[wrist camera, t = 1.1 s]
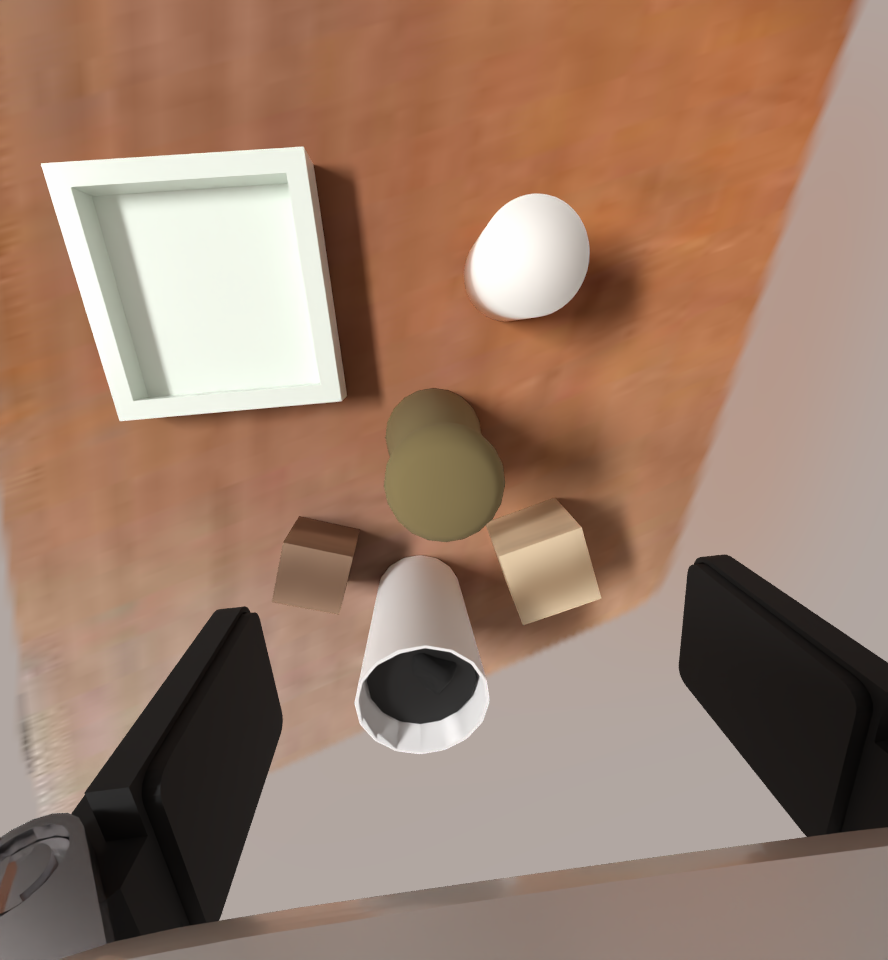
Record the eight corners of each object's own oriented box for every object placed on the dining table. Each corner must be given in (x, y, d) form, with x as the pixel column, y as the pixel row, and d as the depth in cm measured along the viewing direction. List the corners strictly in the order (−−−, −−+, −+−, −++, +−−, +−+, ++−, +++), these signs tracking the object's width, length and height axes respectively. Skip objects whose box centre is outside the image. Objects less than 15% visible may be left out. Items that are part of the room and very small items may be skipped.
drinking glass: (394, 535, 30) (387, 626, 21) (482, 569, 31) (513, 671, 22) (356, 614, 32) (333, 732, 22) (441, 644, 33) (454, 768, 24)
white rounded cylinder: (460, 229, 25) (476, 197, 19) (549, 222, 25) (590, 189, 19) (466, 324, 26) (482, 321, 21) (550, 317, 27) (588, 312, 21)
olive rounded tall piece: (494, 405, 28) (545, 446, 18) (463, 493, 30) (493, 579, 19) (401, 375, 27) (395, 399, 17) (374, 467, 29) (354, 543, 18)
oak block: (484, 522, 30) (498, 556, 26) (554, 497, 30) (581, 527, 26) (506, 582, 32) (522, 625, 27) (572, 559, 32) (601, 598, 27)
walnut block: (299, 515, 29) (283, 542, 26) (360, 529, 30) (352, 557, 26) (289, 568, 30) (271, 602, 27) (347, 580, 31) (339, 614, 27)
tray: (76, 180, 23) (40, 163, 21) (313, 164, 23) (303, 146, 21) (143, 414, 27) (119, 421, 24) (347, 395, 27) (341, 401, 25)
